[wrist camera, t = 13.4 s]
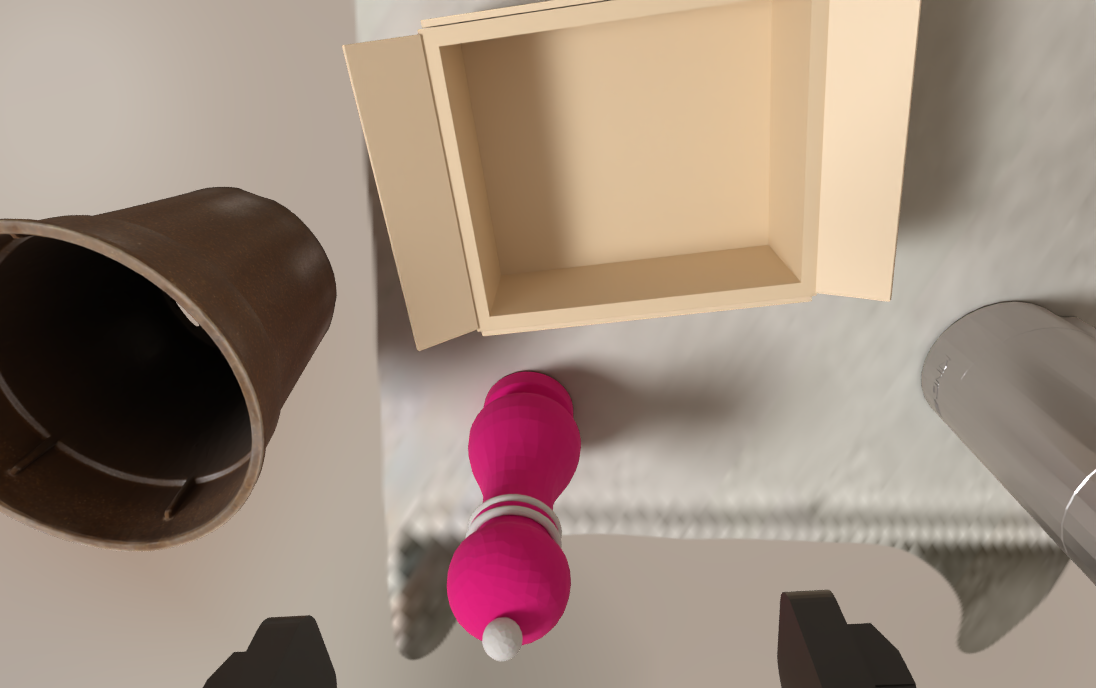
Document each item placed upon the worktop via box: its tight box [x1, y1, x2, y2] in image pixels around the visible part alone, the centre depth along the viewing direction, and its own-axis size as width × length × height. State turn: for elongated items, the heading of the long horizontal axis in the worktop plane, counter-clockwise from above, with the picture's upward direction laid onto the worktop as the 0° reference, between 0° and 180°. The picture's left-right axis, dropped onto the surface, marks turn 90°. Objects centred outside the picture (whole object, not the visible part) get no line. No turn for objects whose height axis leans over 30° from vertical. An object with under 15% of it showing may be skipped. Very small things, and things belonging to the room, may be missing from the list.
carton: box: [342, 0, 922, 351], centre depth 34 cm, size 24×16×9 cm, turn 98°
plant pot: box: [0, 187, 336, 551], centre depth 35 cm, size 16×16×16 cm
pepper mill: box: [447, 372, 581, 661], centre depth 37 cm, size 7×7×20 cm
